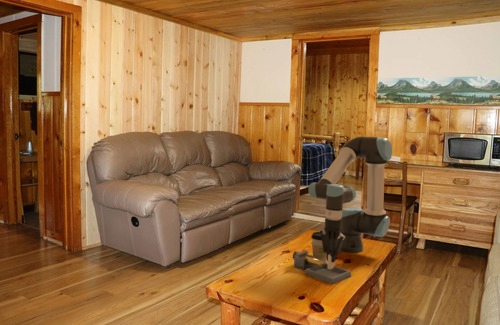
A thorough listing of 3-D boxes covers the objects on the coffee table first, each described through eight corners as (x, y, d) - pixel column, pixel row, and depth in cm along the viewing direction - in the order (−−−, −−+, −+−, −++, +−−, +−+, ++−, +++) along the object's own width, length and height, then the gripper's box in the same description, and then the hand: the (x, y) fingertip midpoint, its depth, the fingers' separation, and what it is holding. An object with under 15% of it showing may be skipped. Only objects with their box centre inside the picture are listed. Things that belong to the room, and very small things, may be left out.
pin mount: (302, 264, 205) (303, 250, 204) (312, 267, 200) (313, 253, 200) (293, 267, 200) (294, 252, 199) (303, 270, 195) (304, 256, 195)
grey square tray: (324, 267, 201) (324, 262, 201) (350, 276, 191) (351, 271, 190) (305, 274, 191) (305, 269, 191) (332, 284, 180) (332, 279, 180)
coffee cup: (329, 267, 202) (331, 237, 200) (309, 265, 204) (310, 235, 202) (329, 260, 211) (331, 232, 210) (310, 258, 213) (311, 230, 212)
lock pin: (298, 258, 205) (298, 250, 205) (324, 267, 193) (325, 258, 193) (292, 260, 202) (292, 251, 201) (319, 270, 190) (319, 260, 190)
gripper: (316, 216, 188) (314, 266, 190) (341, 222, 179) (337, 274, 181) (326, 214, 193) (323, 262, 196) (350, 220, 184) (347, 270, 186)
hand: (330, 268), depth 188 cm, fingers closed
